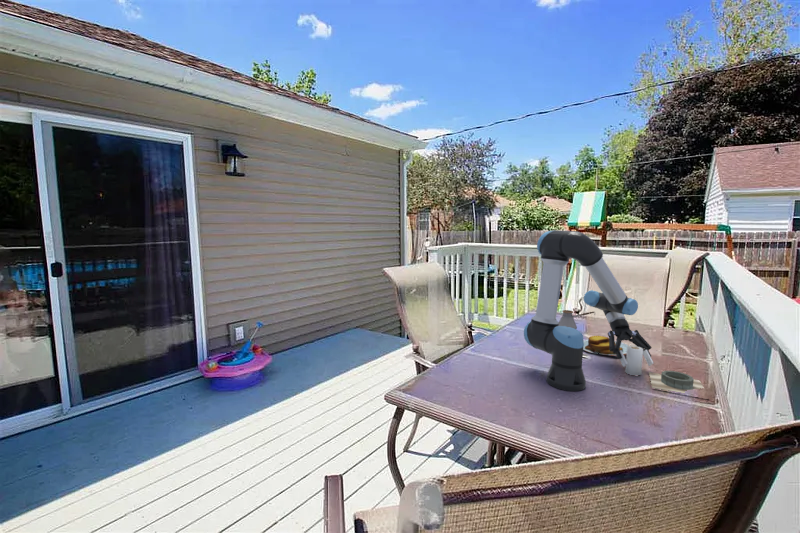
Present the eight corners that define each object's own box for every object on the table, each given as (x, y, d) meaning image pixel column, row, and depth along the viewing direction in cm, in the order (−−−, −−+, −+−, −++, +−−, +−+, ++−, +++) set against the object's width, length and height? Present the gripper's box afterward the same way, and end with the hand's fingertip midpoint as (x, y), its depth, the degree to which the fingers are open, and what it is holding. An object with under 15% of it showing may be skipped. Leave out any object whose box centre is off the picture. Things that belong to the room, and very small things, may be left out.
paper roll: (641, 377, 160) (643, 351, 159) (625, 374, 163) (627, 348, 162) (640, 372, 165) (642, 347, 164) (625, 369, 168) (627, 344, 167)
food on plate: (634, 362, 178) (635, 349, 178) (578, 354, 189) (579, 342, 189) (628, 346, 201) (629, 335, 200) (578, 340, 212) (579, 329, 211)
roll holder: (708, 400, 139) (709, 389, 139) (651, 389, 149) (652, 378, 148) (699, 382, 155) (700, 372, 154) (648, 373, 164) (649, 364, 163)
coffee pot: (554, 331, 229) (555, 308, 228) (560, 327, 238) (561, 305, 236) (591, 338, 216) (593, 313, 214) (596, 333, 224) (597, 310, 223)
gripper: (636, 325, 178) (658, 367, 165) (590, 326, 177) (608, 369, 163) (645, 317, 173) (668, 360, 159) (597, 318, 171) (617, 362, 157)
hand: (638, 365), depth 161 cm, fingers open, 11 cm apart
